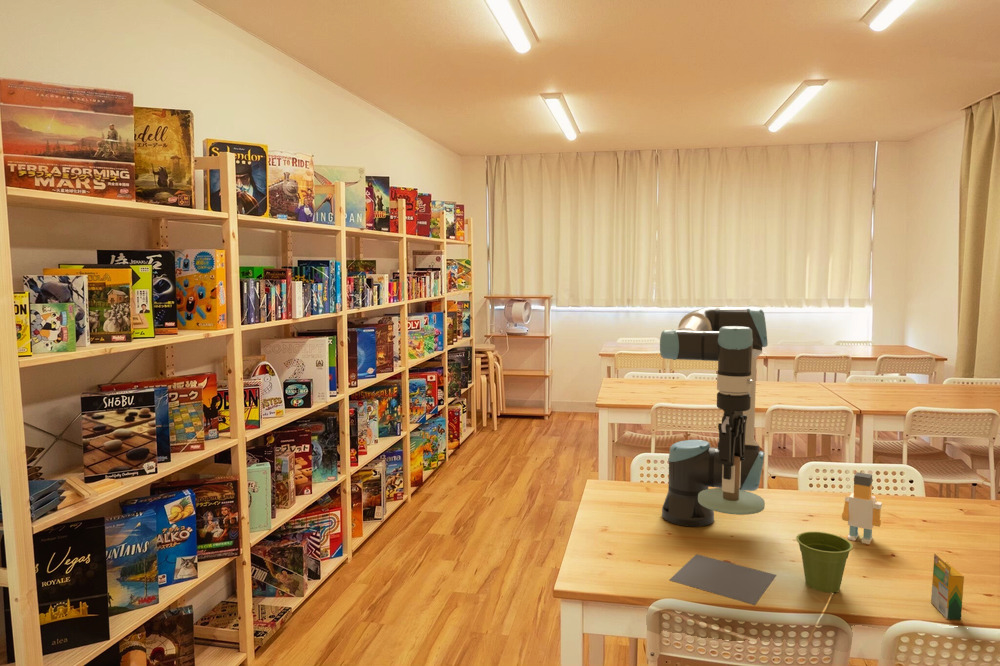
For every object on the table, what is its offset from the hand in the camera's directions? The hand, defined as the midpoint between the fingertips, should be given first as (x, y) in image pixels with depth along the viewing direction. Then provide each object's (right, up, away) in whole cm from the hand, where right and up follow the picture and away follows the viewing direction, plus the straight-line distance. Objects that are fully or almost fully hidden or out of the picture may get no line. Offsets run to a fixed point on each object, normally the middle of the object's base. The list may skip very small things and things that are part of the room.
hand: (731, 489), depth 157 cm
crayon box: (+42, -24, -13) cm, 50 cm away
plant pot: (+21, -23, -2) cm, 31 cm away
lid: (0, -3, 0) cm, 3 cm away
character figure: (+45, -20, +27) cm, 56 cm away
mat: (-1, -23, +2) cm, 23 cm away
